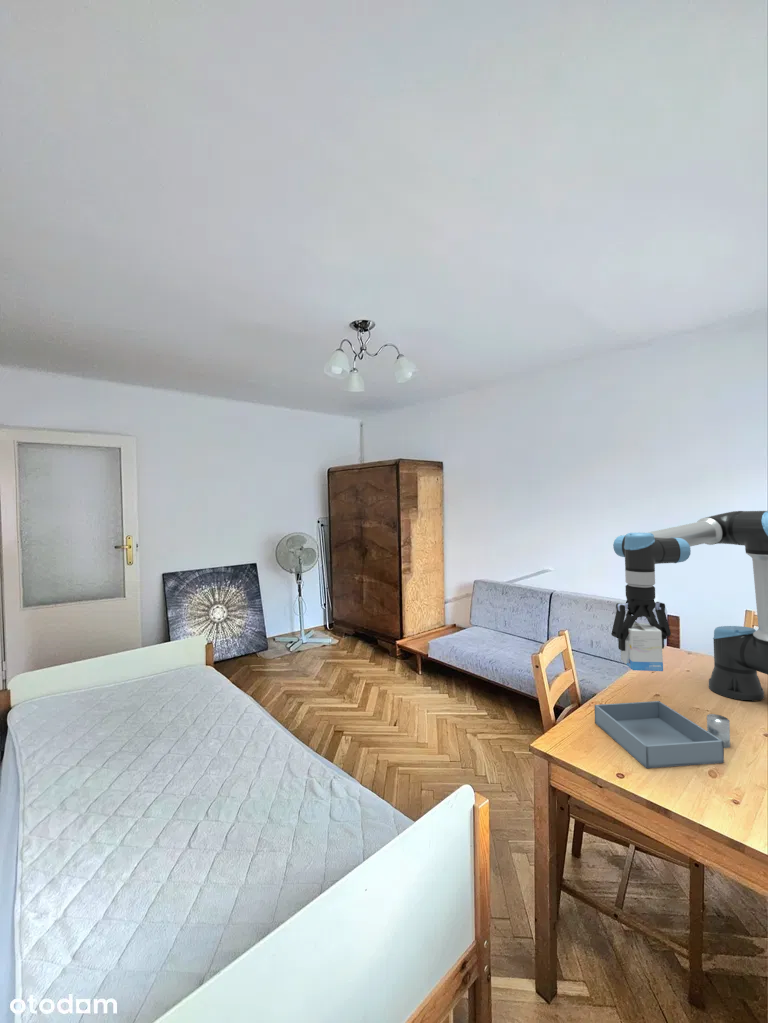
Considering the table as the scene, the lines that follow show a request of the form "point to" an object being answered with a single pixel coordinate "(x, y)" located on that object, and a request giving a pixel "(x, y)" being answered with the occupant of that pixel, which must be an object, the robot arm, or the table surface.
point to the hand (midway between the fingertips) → (641, 660)
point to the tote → (658, 735)
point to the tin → (719, 728)
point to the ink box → (645, 648)
